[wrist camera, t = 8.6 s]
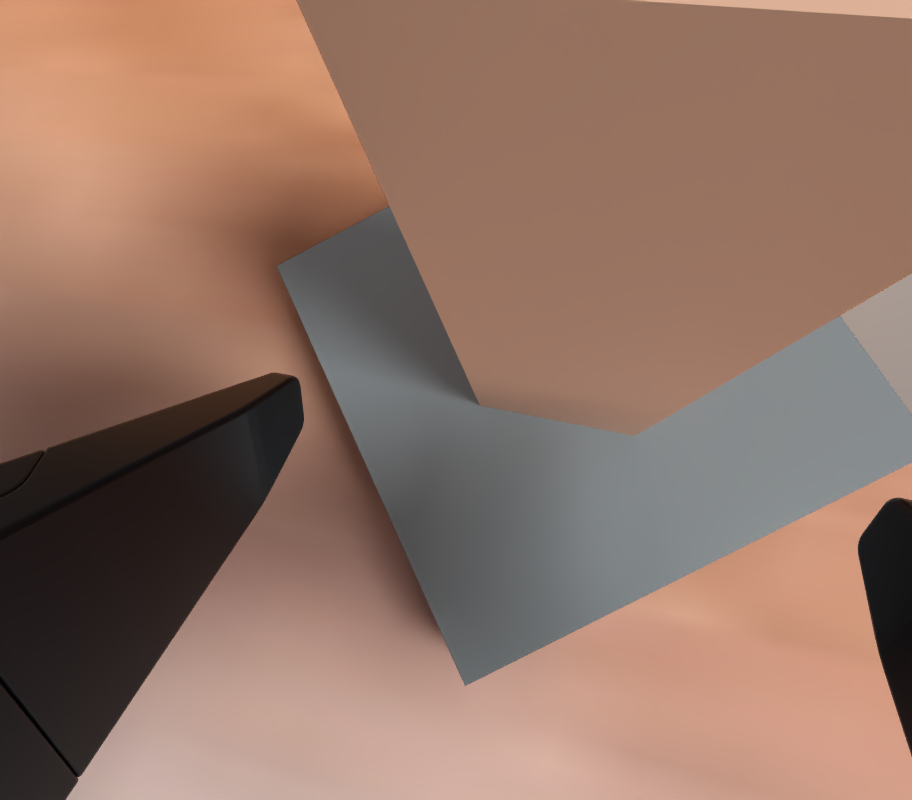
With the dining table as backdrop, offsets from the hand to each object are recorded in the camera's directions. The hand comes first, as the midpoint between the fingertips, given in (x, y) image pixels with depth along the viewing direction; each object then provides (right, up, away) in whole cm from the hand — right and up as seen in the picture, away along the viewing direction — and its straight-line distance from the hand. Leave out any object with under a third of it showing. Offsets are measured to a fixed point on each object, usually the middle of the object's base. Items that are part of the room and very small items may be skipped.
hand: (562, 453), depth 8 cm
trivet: (+2, +2, +10) cm, 10 cm away
